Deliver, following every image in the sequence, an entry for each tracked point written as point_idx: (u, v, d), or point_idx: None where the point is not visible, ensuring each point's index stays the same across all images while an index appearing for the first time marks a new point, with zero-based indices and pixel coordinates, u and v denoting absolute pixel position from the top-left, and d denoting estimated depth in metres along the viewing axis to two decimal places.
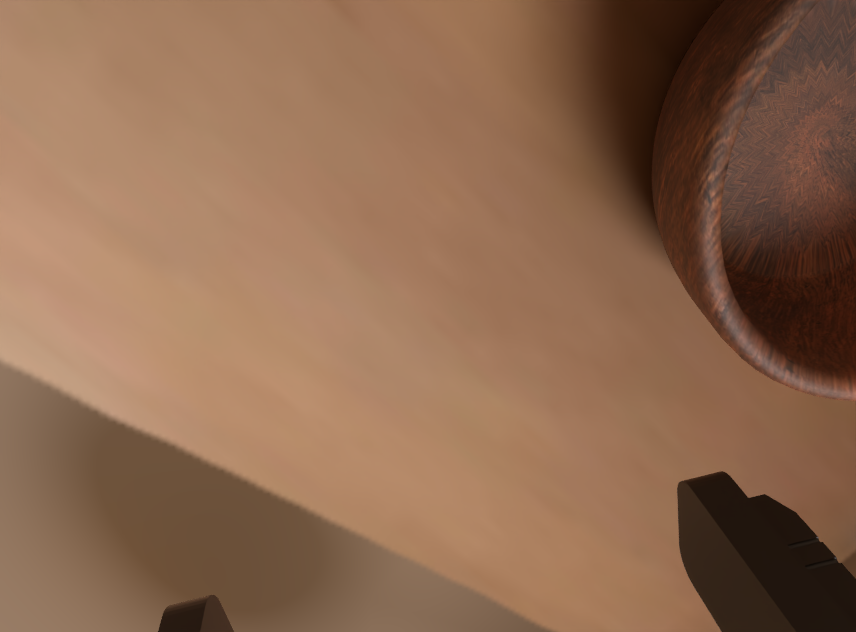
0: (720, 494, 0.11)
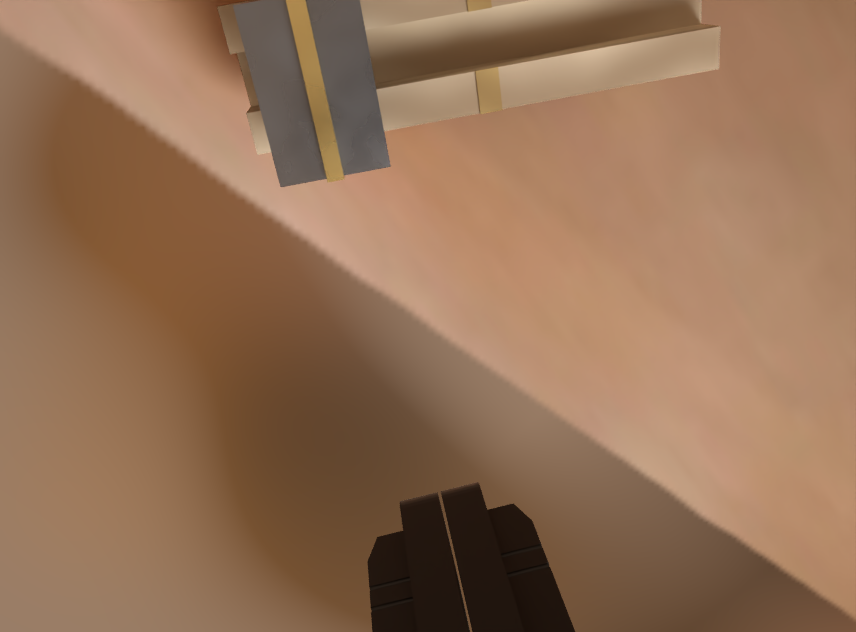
0: (464, 504, 0.11)
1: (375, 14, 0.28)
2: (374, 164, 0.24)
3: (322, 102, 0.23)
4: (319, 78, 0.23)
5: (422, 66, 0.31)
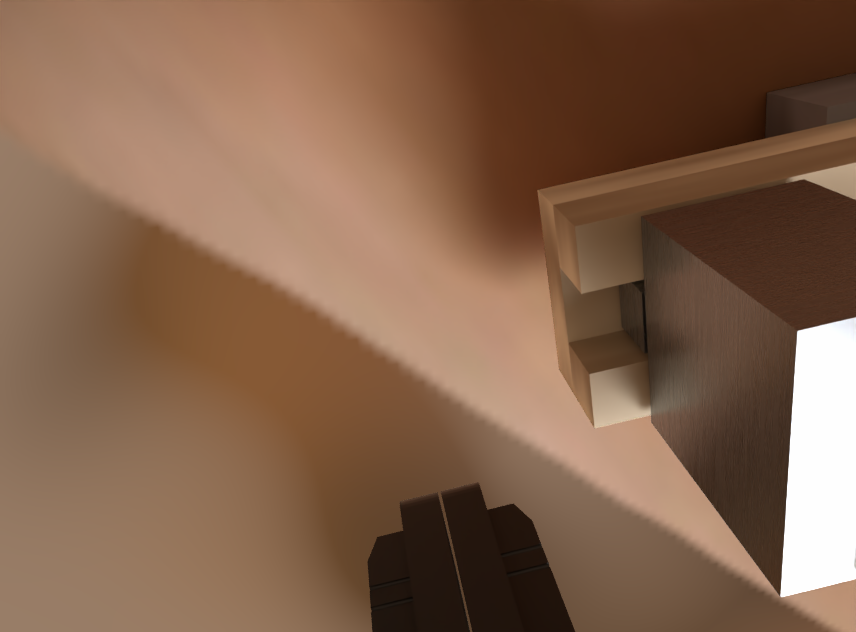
0: (464, 504, 0.11)
1: None
2: None
3: None
4: None
5: None
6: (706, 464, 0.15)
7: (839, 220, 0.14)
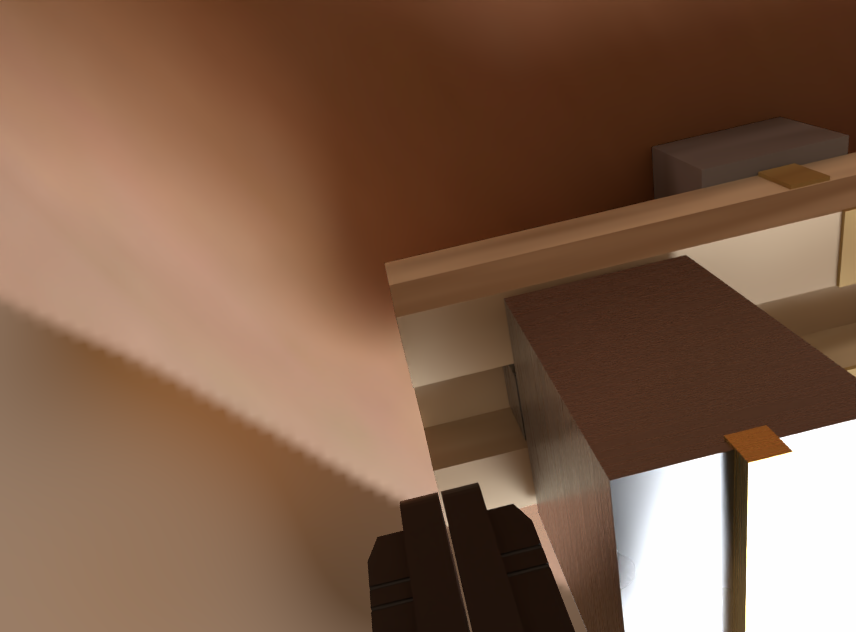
0: (464, 504, 0.11)
1: None
2: None
3: None
4: (780, 597, 0.10)
5: None
6: (574, 579, 0.14)
7: (705, 316, 0.12)
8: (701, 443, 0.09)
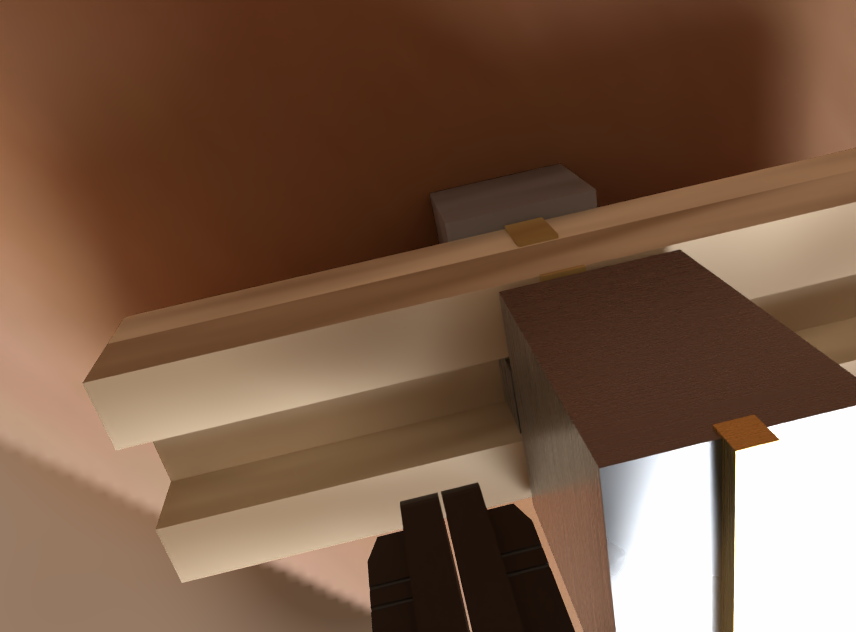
0: (464, 504, 0.11)
1: (380, 367, 0.15)
2: None
3: (761, 622, 0.10)
4: (767, 585, 0.10)
5: (462, 399, 0.18)
6: (567, 570, 0.14)
7: (697, 309, 0.12)
8: (690, 431, 0.09)
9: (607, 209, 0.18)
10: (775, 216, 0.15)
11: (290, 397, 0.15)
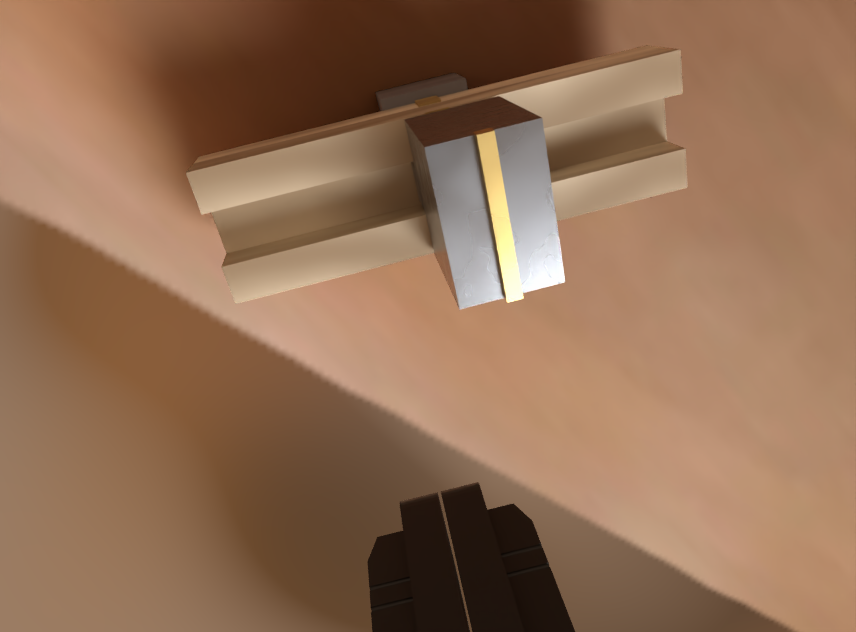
0: (464, 504, 0.11)
1: (342, 166, 0.28)
2: (549, 281, 0.25)
3: (506, 229, 0.23)
4: (504, 208, 0.23)
5: (393, 202, 0.31)
6: (441, 258, 0.27)
7: (491, 110, 0.25)
8: (464, 135, 0.22)
9: (472, 89, 0.31)
10: (551, 80, 0.28)
11: (294, 184, 0.28)
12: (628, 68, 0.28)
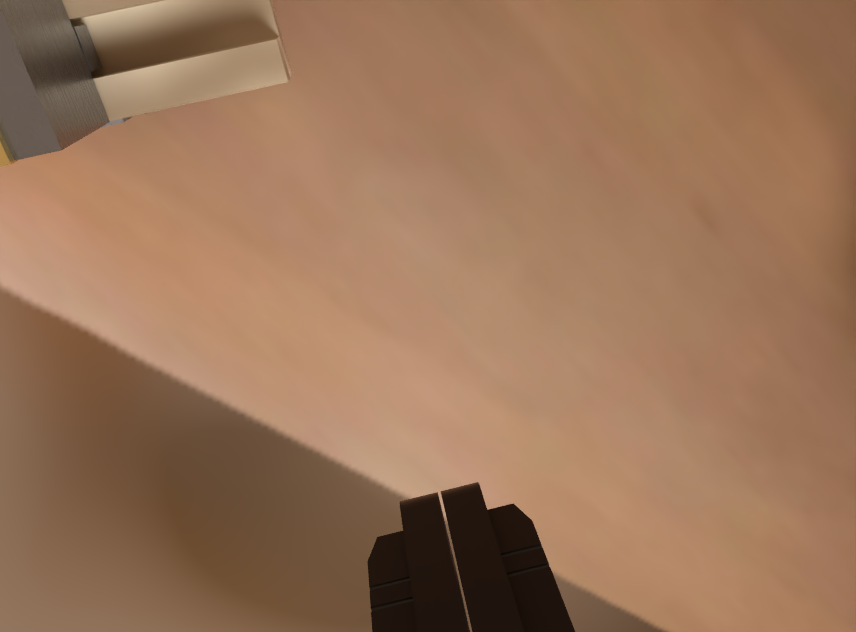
0: (464, 504, 0.11)
1: None
2: (44, 148, 0.24)
3: None
4: None
5: None
6: None
7: None
8: None
9: None
10: None
11: None
12: None
